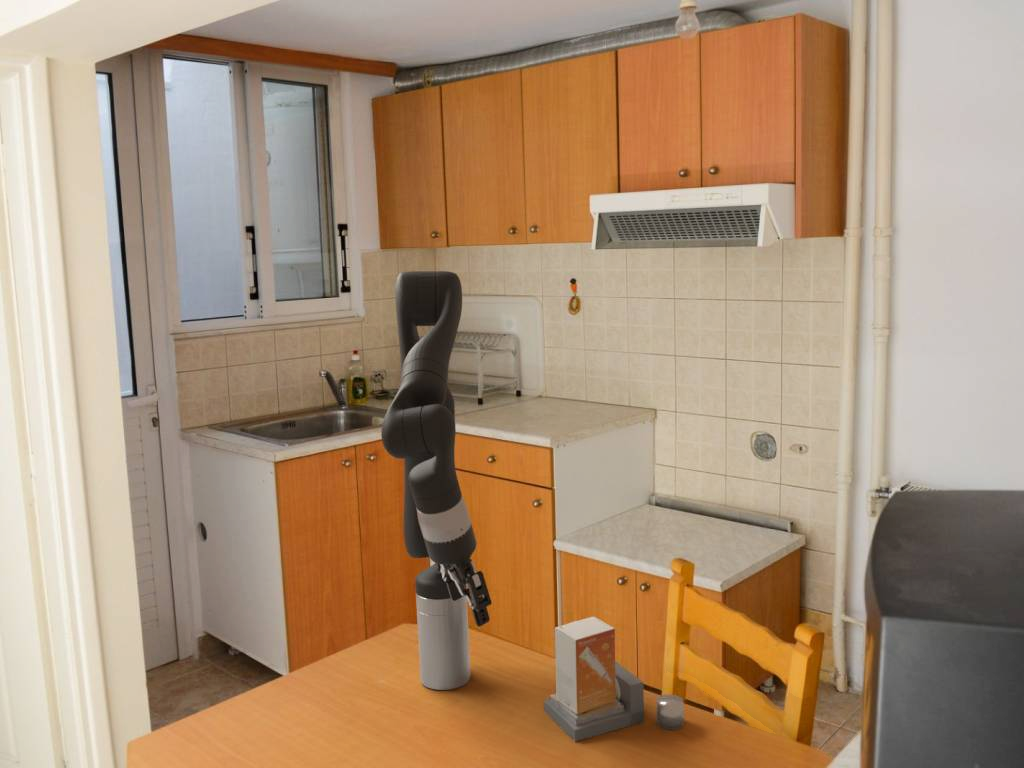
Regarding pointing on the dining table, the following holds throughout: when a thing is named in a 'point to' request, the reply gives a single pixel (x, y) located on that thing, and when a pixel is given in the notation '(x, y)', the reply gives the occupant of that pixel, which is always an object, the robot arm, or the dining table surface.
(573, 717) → the platter
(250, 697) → the dining table surface
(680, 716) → the cylinder
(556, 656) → the small box
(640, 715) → the scale base
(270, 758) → the dining table surface
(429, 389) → the robot arm
